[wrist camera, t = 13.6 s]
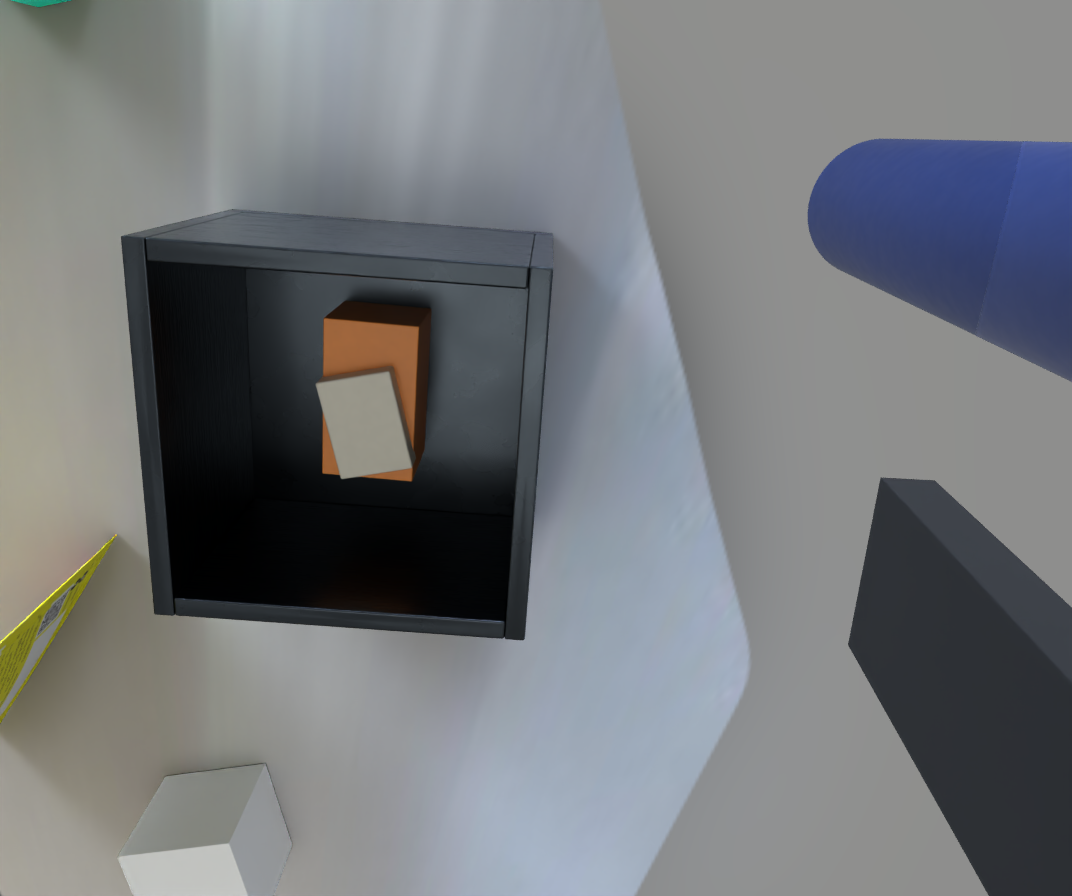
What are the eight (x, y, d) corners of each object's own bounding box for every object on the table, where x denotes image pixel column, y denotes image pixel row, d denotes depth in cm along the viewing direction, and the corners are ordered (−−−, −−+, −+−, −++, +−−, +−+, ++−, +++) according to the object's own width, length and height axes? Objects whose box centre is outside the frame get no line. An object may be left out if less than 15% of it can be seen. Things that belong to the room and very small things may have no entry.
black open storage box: (553, 233, 40) (553, 267, 30) (530, 525, 45) (524, 641, 35) (230, 208, 40) (120, 235, 29) (244, 504, 45) (153, 614, 34)
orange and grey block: (433, 308, 40) (418, 331, 36) (426, 451, 43) (411, 490, 38) (342, 300, 40) (315, 321, 36) (340, 443, 42) (314, 481, 38)
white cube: (165, 775, 51) (116, 856, 45) (265, 762, 50) (229, 842, 44) (196, 857, 52) (152, 944, 47) (292, 845, 52) (260, 931, 46)
